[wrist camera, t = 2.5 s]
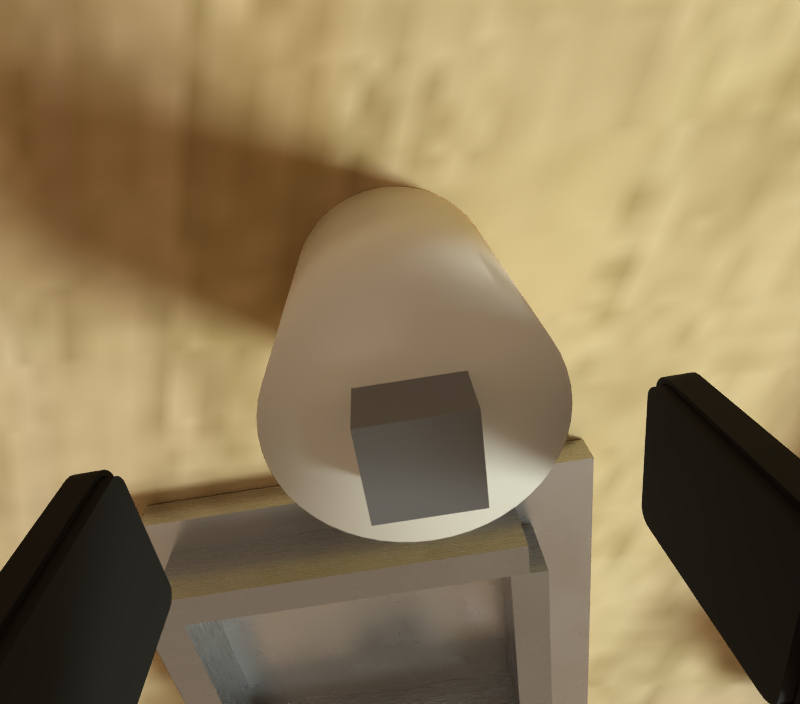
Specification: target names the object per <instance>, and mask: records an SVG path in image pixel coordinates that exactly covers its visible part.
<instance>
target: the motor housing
mask: <svg viewBox="0 0 800 704" xmlns="http://www.w3.org/2000/svg"><path fill="white" fill-rule="evenodd" d="M593 459H594V458H593V456H592V454H591V452H590V451H589V449H588V447H587V446H586V444H585V442H584V440H583V439H581V440H574V441H567V442H565V443H564V446H563V449H562V451H561V453H560V455H559V457H558V459H557V461H556V462H555V464H554V466H553V468H552V469H551V471H550V472H549V473H548V475H547V476H546V477H545V479H544V480H543V481H542V482H541V484H540V485H539V486H538V487H537V488H536V489H535V490H534V491H533V492H532V493H531V494H530V495H529V496H528V497H527V498H525V499H524V500H523V501H522V502H521V503H520V504H518V505H517V506H516V507H514V508H513V509H511V510H510V511H508V512H507V513H505V514H504V515H502V516H501V517H499V518H497V519H495V520H493V521H491V522H490V523H488V524H486V525H483V526H481V527H478V528H476V529H474V530H471V531H469V532H465V533H462V534H459V535H455V536H452V537H447V538H442V539H437V540H430V541H420V542H391V541H380V540H375V539H370V538H364V537H360V536H357V535H354V534H350V533H347V532H344V531H342V530H339V529H337V528H335V527H332V526H330V525H328V524H326V523H324V522H323V521H321V520H319V519H317V518H315V517H314V516H312V515H311V514H310V513H308V512H307V511H306V510H304V509H303V508H301V507H300V506H299V505H298V504H297V503H296V502H295V501H294V500H293V499H292V498H291V497H289V496H288V495H287V493H286V492H285V491H284V490H283V488H282V487H281V486H273V487H267V488H260V489H254V490H247V491H241V492H234V493H228V494H221V495H215V496H208V497H202V498H195V499H189V500H182V501H175V502H169V503H162V504H156V505H149V506H147V507H146V509H145V512H144V514H143V516H142V518H141V520H142V522H143V524H144V527H145V529H146V531H147V533H148V536H149V538H150V540H151V542H152V545H153V547H154V549H155V551H156V554H157V556H158V558H159V560H160V563H161V565H162V567H163V569H164V572H165V574H166V576H167V578H168V581H169V583H170V586H171V590H172V602H171V607H170V610H169V613H168V616H167V619H166V622H165V625H164V628H163V631H162V633H161V636H160V639H159V642H158V645H157V648H156V650H157V652H158V654H159V655H160V657H161V659H162V661H163V663H164V665H165V666H166V668H167V670H168V672H169V674H170V676H171V678H172V679H173V681H174V683H175V685H176V687H177V689H178V691H179V692H180V694H181V696H182V698H183V700H184V702H185V703H186V704H587V696H588V657H589V617H590V578H591V538H592V499H593Z"/></svg>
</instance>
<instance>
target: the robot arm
mask: <svg viewBox="0 0 800 704" xmlns="http://www.w3.org/2000/svg"><path fill="white" fill-rule="evenodd" d="M642 512H643V516H644V519H645V521H646V524H647V525H648V527H649V529H650V530H651V532H652V533H653V535H654V536H655V538H656V539H657V541H658V542H659V544H660V545H661V547H662V548H663V550H664V551H665V553H666V554H667V556H668V557H669V559H670V560H671V562H672V563H673V565H674V566H675V567H676V569H677V570H678V572H679V573H680V575H681V576H682V578H683V579H684V581H685V582H686V584H687V585H688V587H689V588H690V590H691V591H692V593H693V594H694V596H695V597H696V599H697V600H698V602H699V603H700V605H701V606H702V608H703V609H704V611H705V612H706V614H707V615H708V617H709V618H710V620H711V621H712V623H713V624H714V626H715V627H716V629H717V630H718V632H719V633H720V634H721V636H722V637H723V639H724V640H725V642H726V643H727V645H728V646H729V648H730V649H731V651H732V652H733V654H734V655H735V657H736V658H737V660H738V661H739V663H740V664H741V666H742V667H743V669H744V670H745V672H746V673H747V675H748V676H749V678H750V679H751V681H752V682H753V684H754V685H755V687H756V688H757V690H758V691H759V693H760V694H761V695H762V696H763V698H764V699H765V700H766V701H767V702H768V703H770V704H800V458H798V457H797V456H796V455H795V454H794V453H792V452H791V451H790V450H789V449H788V448H786V447H785V446H784V445H783V444H782V443H780V442H779V441H778V440H777V439H776V438H774V437H773V436H772V435H771V434H770V433H768V432H767V431H766V430H765V429H764V428H762V427H761V426H760V425H759V424H758V423H756V422H755V421H754V420H753V419H752V418H751V417H749V416H748V415H747V414H746V413H745V412H743V411H742V410H741V409H740V408H739V407H737V406H736V405H735V404H734V403H733V402H731V401H730V400H729V399H728V398H727V397H725V396H724V395H723V394H722V393H721V392H719V391H718V390H717V389H716V388H715V387H713V386H712V385H711V384H710V383H709V382H707V381H706V380H705V379H704V378H703V377H701V376H700V375H699V374H697V373H692V372H691V373H685V374H679V375H673V376H667V377H662V378H660V379H659V380H658V382H657V385H656V387H652V388H650V390H649V392H648V400H647V418H646V437H645V455H644V473H643V491H642ZM171 602H172V590H171V586H170V583H169V581H168V578H167V576H166V574H165V572H164V569H163V567H162V565H161V563H160V560H159V558H158V556H157V554H156V551H155V549H154V547H153V545H152V542H151V540H150V538H149V536H148V533H147V531H146V529H145V527H144V524H143V522H142V520H141V518H140V516H139V513H138V511H137V509H136V507H135V504H134V502H133V500H132V498H131V495H130V493H129V491H128V489H127V486H126V484H125V482H124V480H123V479H122V478H121V477H119V476H113V474H112V473H111V472H109V471H108V470H100V471H94V472H88V473H82V474H76V475H72V476H70V477H69V478H68V479H67V480H66V481H65V482H64V483H63V485H62V486H61V488H60V489H59V490H58V492H57V493H56V495H55V496H54V497H53V499H52V500H51V502H50V503H49V504H48V506H47V507H46V509H45V510H44V511H43V513H42V514H41V516H40V517H39V518H38V520H37V521H36V523H35V524H34V525H33V527H32V528H31V530H30V531H29V532H28V534H27V535H26V537H25V538H24V539H23V541H22V542H21V544H20V545H19V546H18V548H17V549H16V551H15V552H14V553H13V555H12V556H11V558H10V559H9V560H8V562H7V563H6V565H5V566H4V567H3V569H2V570H1V572H0V704H138V701H139V698H140V695H141V692H142V689H143V686H144V683H145V680H146V677H147V674H148V671H149V669H150V666H151V663H152V660H153V657H154V654H155V651H156V648H157V645H158V642H159V639H160V636H161V633H162V631H163V628H164V625H165V622H166V619H167V616H168V613H169V610H170V607H171Z"/></svg>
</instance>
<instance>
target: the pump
mask: <svg viewBox="0 0 800 704" xmlns="http://www.w3.org/2000/svg"><path fill="white" fill-rule="evenodd" d="M571 414H572V393H571V384H570V380H569V376H568V372H567V368H566V366H565V363H564V361H563V359H562V356H561V354H560V352H559V350H558V349H557V347H556V345H555V344H554V342H553V341H552V339H551V337H550V336H549V334H548V333H547V331H546V330H545V328H544V327H543V325H542V324H541V323H540V321H539V320H538V318H537V317H536V315H535V314H534V312H533V311H532V309H531V308H530V306H529V305H528V303H527V302H526V300H525V299H524V297H523V296H522V294H521V293H520V291H519V290H518V288H517V287H516V286H515V284H514V283H513V281H512V280H511V278H510V277H509V275H508V274H507V272H506V271H505V269H504V268H503V266H502V265H501V263H500V262H499V260H498V259H497V257H496V256H495V254H494V253H493V252H492V250H491V249H490V247H489V246H488V244H487V243H486V241H485V240H484V238H483V237H482V235H481V234H480V232H479V231H478V229H477V228H476V226H475V225H474V224H473V223H472V221H471V220H470V219H469V218H468V217H467V215H465V214H464V213H463V212H462V211H461V210H460V209H459V208H458V207H456V206H455V205H453V204H452V203H450V202H449V201H447V200H446V199H444V198H442V197H440V196H438V195H436V194H434V193H431V192H428V191H424V190H421V189H416V188H411V187H400V186H390V187H379V188H375V189H371V190H366V191H363V192H361V193H358V194H355V195H353V196H351V197H349V198H347V199H345V200H344V201H342V202H340V203H339V204H337V205H336V206H335V207H333V208H332V209H330V210H329V211H328V212H327V213H326V214H325V215H324V216H323V217H322V218H321V219H320V220H319V221H318V223H317V224H316V225H315V226H314V228H313V229H312V230H311V232H310V234H309V236H308V237H307V239H306V241H305V243H304V246H303V248H302V250H301V253H300V256H299V260H298V263H297V267H296V270H295V273H294V277H293V280H292V284H291V287H290V290H289V294H288V297H287V300H286V304H285V307H284V311H283V314H282V317H281V321H280V324H279V328H278V331H277V334H276V338H275V341H274V344H273V348H272V351H271V355H270V358H269V361H268V365H267V368H266V372H265V375H264V378H263V382H262V386H261V390H260V394H259V398H258V406H257V430H258V437H259V442H260V446H261V450H262V453H263V455H264V458H265V460H266V463H267V465H268V467H269V469H270V471H271V472H272V474H273V476H274V477H275V479H276V481H277V482H278V483H279V485H280V486H281V487H282V488H283V490H284V491H285V492H286V493H287V495H288V496H289V497H291V498H292V499H293V500H294V501H295V502H296V503H297V504H298V505H299V506H300V507H301V508H303V509H304V510H306V511H307V512H308V513H310V514H311V515H312V516H314V517H315V518H317V519H319V520H321V521H323V522H324V523H326V524H328V525H330V526H332V527H335V528H337V529H339V530H342V531H344V532H347V533H350V534H354V535H357V536H360V537H364V538H370V539H375V540H380V541H391V542H420V541H430V540H437V539H442V538H447V537H452V536H455V535H459V534H462V533H465V532H469V531H471V530H474V529H476V528H478V527H481V526H483V525H486V524H488V523H490V522H491V521H493V520H495V519H497V518H499V517H501V516H502V515H504V514H505V513H507V512H508V511H510V510H511V509H513V508H514V507H516V506H517V505H518V504H520V503H521V502H522V501H523V500H524V499H525V498H527V497H528V496H529V495H530V494H531V493H532V492H533V491H534V490H535V489H536V488H537V487H538V486H539V485H540V484H541V482H542V481H543V480H544V479H545V477H546V476H547V475H548V473H549V472H550V471H551V469H552V468H553V466H554V464H555V462H556V461H557V459H558V457H559V455H560V453H561V451H562V449H563V446H564V443H565V441H566V438H567V435H568V431H569V427H570V422H571Z"/></svg>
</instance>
